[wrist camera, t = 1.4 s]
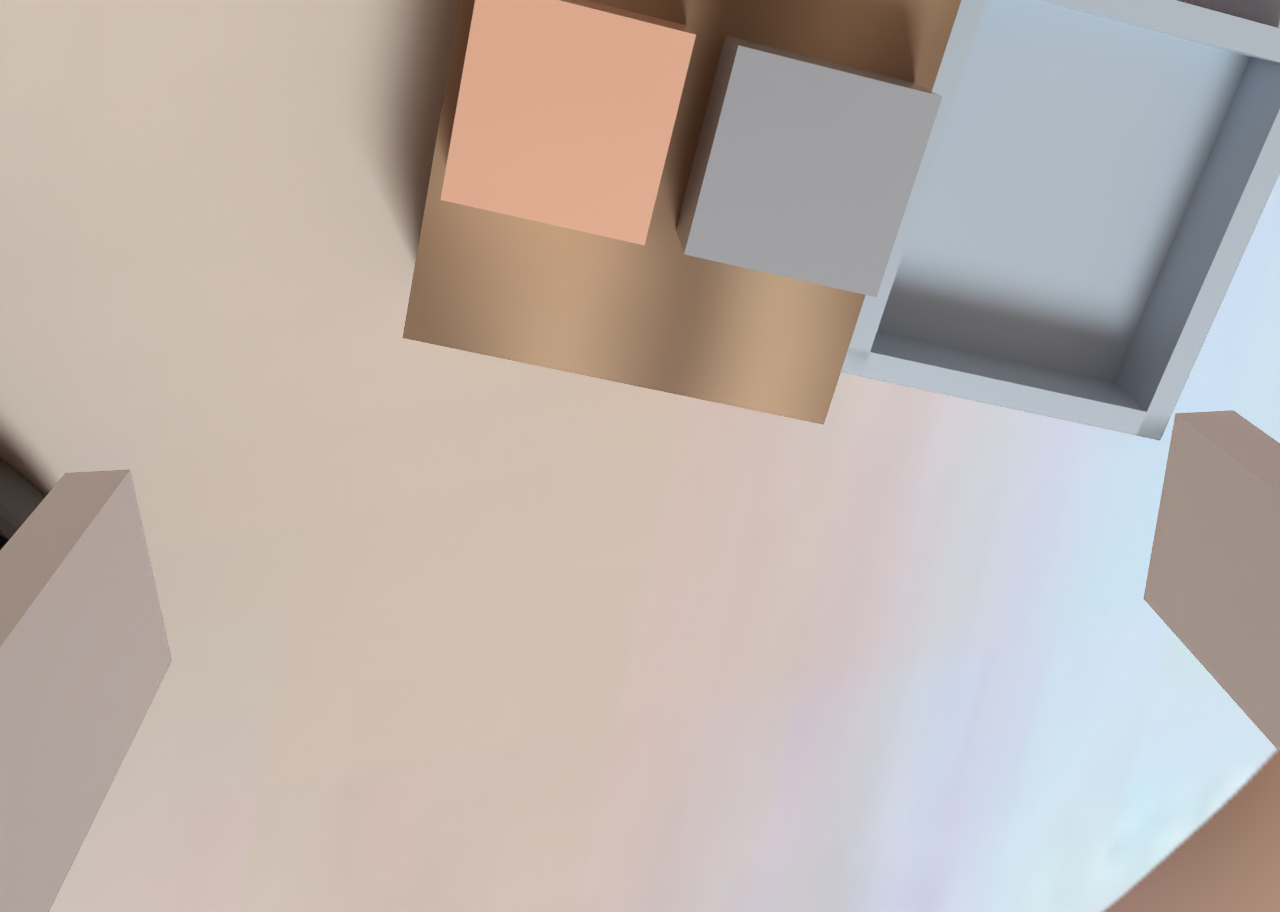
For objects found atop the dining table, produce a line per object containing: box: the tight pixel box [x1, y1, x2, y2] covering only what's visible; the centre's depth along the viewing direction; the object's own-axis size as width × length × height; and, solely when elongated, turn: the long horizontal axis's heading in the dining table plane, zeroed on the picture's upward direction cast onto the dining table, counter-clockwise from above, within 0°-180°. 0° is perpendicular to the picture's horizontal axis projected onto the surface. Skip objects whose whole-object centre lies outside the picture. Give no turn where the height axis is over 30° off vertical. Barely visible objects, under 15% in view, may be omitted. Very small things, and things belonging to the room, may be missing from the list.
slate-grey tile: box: [676, 35, 942, 297], centre depth 30 cm, size 5×5×2 cm
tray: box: [841, 0, 1280, 440], centre depth 36 cm, size 11×12×3 cm
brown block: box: [403, 0, 961, 424], centre depth 33 cm, size 12×14×5 cm
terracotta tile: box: [440, 0, 696, 246], centre depth 29 cm, size 5×5×2 cm
